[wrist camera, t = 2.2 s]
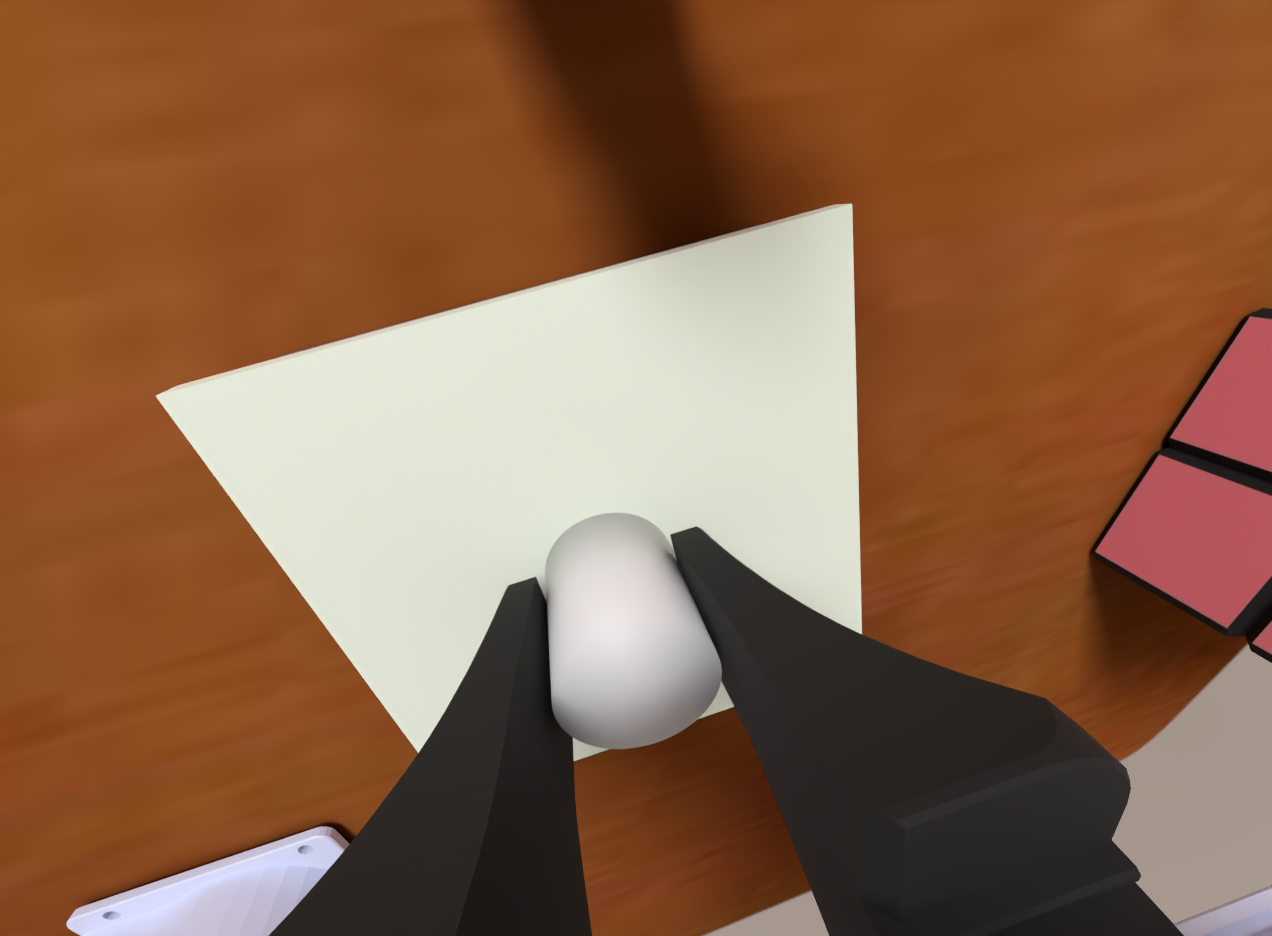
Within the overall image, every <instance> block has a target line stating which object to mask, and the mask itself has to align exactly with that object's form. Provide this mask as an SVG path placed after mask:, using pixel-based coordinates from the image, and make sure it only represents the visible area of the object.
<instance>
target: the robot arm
mask: <svg viewBox="0 0 1272 936" xmlns="http://www.w3.org/2000/svg"><path fill="white" fill-rule="evenodd" d="M670 536H671V540H672V544H673V549H674V553H675V557H676V561H677V563H678V565H679V568H680V570H681V572H682V574H683V577H684V579H685V581H686V584H687V586H688V588H689V590H690V593H691V595H692V597H693V599H694V601H695V604H696V606H697V608H698V610H699V613H700V615H701V617H702V619H703V622H704V624H705V626H706V629H707V631H708V633H709V635H710V638H711V640H712V642H713V645H714V647H715V649H716V651H717V654H718V656H719V659H720V662H721V668H722V679H721V681H722V683H723V685H724V687H725V689H726V691H727V693H728V695H729V697H730V699H731V701H732V703H733V705H734V707H735V709H736V711H737V713H738V715H739V717H740V719H741V721H742V723H743V724H744V726H745V728H746V730H747V732H748V734H749V737H750V739H751V741H752V743H753V745H754V747H755V750H756V752H757V754H758V756H759V759H760V761H761V764H762V766H763V769H764V771H765V773H766V776H767V778H768V781H769V783H770V786H771V788H772V791H773V793H774V796H775V798H776V801H777V803H778V806H779V808H780V811H781V813H782V816H783V818H784V821H785V823H786V826H787V828H788V831H789V833H790V836H791V838H792V841H793V844H794V846H795V849H796V851H797V854H798V856H799V859H800V861H801V864H802V866H803V869H804V872H805V874H806V877H807V879H808V882H809V884H810V887H811V890H812V892H813V895H814V897H815V900H816V902H817V905H818V908H819V910H820V913H821V915H822V918H823V920H824V923H825V925H826V928H827V931H828V933H829V936H1272V885H1271V886H1269V887H1266V888H1263V889H1261V890H1258V891H1256V892H1253V893H1251V894H1248V895H1246V896H1243V897H1240V898H1238V899H1235V900H1233V901H1230V902H1228V903H1225V904H1223V905H1220V906H1218V907H1215V908H1212V909H1210V910H1208V911H1205V912H1202V913H1200V914H1197V915H1195V916H1192V917H1190V918H1187V919H1184V920H1182V921H1179V922H1177V923H1174V924H1173V923H1172V922H1171V921H1170V920H1169V919H1168V918H1167V916H1166V915H1164V913H1163V912H1162V911H1161V910H1160V909H1159V908H1158V907H1157V906H1156V904H1155V903H1154V902H1153V901H1152V900H1151V899H1150V898H1149V897H1148V896H1147V895H1146V894H1145V892H1144V891H1143V890H1142V889H1141V888H1140V887H1139V886H1138V885H1137V884H1136V883H1135V882H1137V881H1139V879H1140V877H1141V875H1140V872H1139V871H1138V869H1137V867H1136V866H1135V865H1134V864H1133V863H1132V861H1131V860H1130V859H1129V858H1128V857H1127V856H1126V855H1125V854H1124V853H1123V852H1122V851H1121V850H1120V849H1119V848H1118V847H1117V846H1116V844H1114V842H1113V841H1112V837H1113V835H1114V833H1115V830H1116V828H1117V826H1118V823H1119V821H1120V819H1121V816H1122V814H1123V812H1124V810H1125V807H1126V805H1127V802H1128V798H1129V794H1130V789H1131V787H1130V779H1129V776H1128V773H1127V770H1126V768H1125V767H1124V766H1123V765H1122V764H1121V763H1120V762H1119V761H1118V760H1117V759H1116V758H1114V757H1113V756H1112V755H1111V754H1110V753H1109V752H1108V751H1107V750H1106V749H1105V748H1103V747H1102V746H1101V745H1100V744H1099V743H1098V742H1097V741H1096V740H1095V739H1094V738H1093V737H1092V736H1091V735H1089V734H1088V733H1087V732H1086V731H1085V730H1084V729H1083V728H1082V727H1080V726H1079V725H1078V724H1077V723H1076V722H1074V721H1073V720H1072V719H1071V718H1069V717H1068V716H1067V715H1066V714H1064V713H1063V712H1062V711H1060V710H1059V709H1058V708H1057V707H1055V706H1054V705H1053V704H1052V703H1051V702H1049V701H1048V700H1047V699H1046V698H1042V697H1039V696H1036V695H1032V694H1029V693H1025V692H1022V691H1019V690H1015V689H1012V688H1008V687H1005V686H1002V685H998V684H995V683H991V682H988V681H985V680H981V679H978V678H974V677H971V676H968V675H965V674H962V673H959V672H956V671H953V670H950V669H947V668H945V667H942V666H939V665H936V664H933V663H931V662H928V661H925V660H922V659H919V658H917V657H914V656H912V655H909V654H907V653H904V652H902V651H900V650H897V649H895V648H892V647H890V646H888V645H885V644H883V643H881V642H878V641H876V640H873V639H871V638H869V637H866V636H864V635H862V634H860V633H858V632H856V631H854V630H852V629H850V628H847V627H845V626H843V625H841V624H839V623H837V622H835V621H834V620H832V619H830V618H828V617H826V616H824V615H822V614H820V613H818V612H817V611H815V610H813V609H811V608H810V607H808V606H806V605H804V604H803V603H801V602H799V601H798V600H796V599H794V598H793V597H791V596H790V595H788V594H786V593H785V592H783V591H782V590H780V589H779V588H777V587H775V586H774V585H772V584H771V583H770V582H768V581H767V580H765V579H764V578H762V577H761V576H759V575H758V574H757V573H755V572H754V571H753V570H751V569H750V568H748V567H747V566H746V565H744V564H743V563H742V562H740V561H739V560H738V559H736V558H735V557H734V556H733V555H731V554H730V553H729V552H728V551H726V550H725V549H724V548H723V547H721V546H720V545H719V544H718V543H717V542H716V541H714V540H713V539H712V538H711V537H710V536H709V535H708V534H707V533H706V532H704V531H703V530H702V529H701V528H699V527H697V526H696V527H693V528H689V529H686V530H683V531H680V532H677V533H673V534H670ZM67 927H68V928H69V929H70V930H72V931H73V932H75V933H77V934H79V935H81V936H592V932H591V925H590V918H589V911H588V903H587V896H586V889H585V881H584V874H583V866H582V858H581V850H580V842H579V834H578V826H577V818H576V804H575V788H574V758H573V737H572V736H570V735H569V734H568V733H567V732H565V731H564V730H563V728H562V727H561V726H560V725H559V723H558V722H557V720H556V718H555V716H554V713H553V709H552V702H551V682H550V661H549V641H548V621H547V601H546V599H545V597H544V594H543V592H542V590H541V587H540V585H539V583H538V580H537V578H536V577H533V578H530V579H527V580H524V581H520V582H517V583H514V584H511V585H508V587H507V589H506V590H505V592H504V595H503V597H502V599H501V601H500V604H499V606H498V608H497V610H496V613H495V615H494V617H493V619H492V621H491V624H490V626H489V628H488V630H487V632H486V634H485V636H484V639H483V641H482V643H481V645H480V647H479V649H478V651H477V653H476V655H475V657H474V659H473V661H472V663H471V665H470V667H469V669H468V671H467V672H466V674H465V676H464V678H463V680H462V682H461V683H460V685H459V687H458V689H457V691H456V692H455V694H454V696H453V698H452V700H451V701H450V703H449V705H448V707H447V708H446V710H445V712H444V714H443V715H442V717H441V718H440V720H439V722H438V723H437V725H436V727H435V728H434V730H433V731H432V733H431V735H430V736H429V738H428V739H427V741H426V742H425V744H424V745H423V747H422V748H421V750H420V751H419V753H418V754H417V756H416V758H415V759H414V760H413V762H412V763H411V765H410V766H409V768H408V769H407V770H406V772H405V773H404V774H403V776H402V777H401V778H400V780H399V781H398V782H397V784H396V785H395V786H394V788H393V789H392V790H391V792H390V793H389V794H388V796H387V797H386V798H385V800H384V801H383V802H382V804H381V805H380V806H379V808H378V809H377V810H376V812H375V813H374V814H373V816H372V817H371V818H370V820H369V821H368V822H367V823H366V825H365V826H364V827H363V828H362V830H361V831H360V832H359V833H358V835H357V836H356V837H355V838H354V839H353V841H352V842H351V843H350V844H349V843H348V842H347V841H346V840H345V839H344V838H343V837H342V836H341V835H340V834H339V833H338V832H337V831H336V830H335V829H334V828H332V827H328V826H320V827H316V828H313V829H310V830H307V831H304V832H301V833H298V834H295V835H292V836H289V837H286V838H283V839H281V840H278V841H275V842H272V843H269V844H266V845H263V846H260V847H257V848H254V849H251V850H248V851H245V852H242V853H239V854H236V855H233V856H230V857H227V858H224V859H221V860H218V861H215V862H212V863H209V864H206V865H203V866H200V867H197V868H194V869H191V870H188V871H186V872H183V873H180V874H177V875H174V876H171V877H168V878H165V879H162V880H159V881H156V882H153V883H150V884H147V885H144V886H141V887H138V888H135V889H132V890H129V891H126V892H123V893H120V894H117V895H114V896H111V897H108V898H105V899H102V900H99V901H96V902H94V903H91V904H88V905H85V906H82V907H80V908H78V909H76V910H75V911H74V912H73V914H72V915H71V917H70V918H69V920H68V921H67Z"/></svg>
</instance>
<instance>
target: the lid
mask: <svg viewBox="0 0 1272 936" xmlns="http://www.w3.org/2000/svg"><path fill="white" fill-rule="evenodd" d="M156 397H157V399H158V400H159V401H160V403H161V404H162V405H163V407H164V408H165V409H166V411H167V412H168V414H169V415H170V416H171V418H172V419H173V420H174V422H175V423H176V424H177V426H178V427H179V428H180V430H181V431H182V433H183V434H184V435H185V437H186V438H187V439H188V441H189V442H190V443H191V445H192V446H193V447H194V449H195V450H196V452H197V453H198V454H199V456H200V457H201V458H202V460H203V461H204V462H205V464H206V465H207V467H208V468H209V469H210V471H211V472H212V473H213V475H214V476H215V477H216V479H217V480H218V481H219V483H220V484H221V486H222V487H223V488H224V490H225V491H226V492H227V494H228V495H229V496H230V498H231V499H232V500H233V502H234V503H235V505H236V506H237V507H238V509H239V510H240V511H241V513H242V514H243V515H244V517H245V518H246V519H247V521H248V522H249V524H250V525H251V526H252V528H253V529H254V530H255V532H256V533H257V534H258V536H259V537H260V538H261V540H262V541H263V543H264V544H265V545H266V547H267V548H268V549H269V551H270V552H271V553H272V555H273V556H274V558H275V559H276V560H277V562H278V563H279V564H280V566H281V567H282V568H283V570H284V571H285V572H286V574H287V575H288V577H289V578H290V579H291V581H292V582H293V583H294V585H295V586H296V587H297V589H298V590H299V591H300V593H301V594H302V596H303V597H304V598H305V600H306V601H307V602H308V604H309V605H310V606H311V608H312V609H313V610H314V612H315V613H316V615H317V616H318V617H319V619H320V620H321V621H322V623H323V624H324V625H325V627H326V628H327V629H328V631H329V632H330V634H331V635H332V636H333V638H334V639H335V640H336V642H337V643H338V644H339V646H340V647H341V649H342V650H343V651H344V653H345V654H346V655H347V657H348V658H349V659H350V661H351V662H352V663H353V665H354V666H355V668H356V669H357V670H358V672H359V673H360V674H361V676H362V677H363V678H364V680H365V681H366V682H367V684H368V685H369V687H370V688H371V689H372V691H373V692H374V693H375V695H376V696H377V697H378V699H379V700H380V701H381V703H382V704H383V706H384V707H385V708H386V710H387V711H388V712H389V714H390V715H391V716H392V718H393V719H394V720H395V722H396V723H397V725H398V726H399V727H400V729H401V730H402V731H403V733H404V734H405V735H406V737H407V738H408V740H409V741H410V742H411V744H412V745H413V746H414V748H415V749H416V750H417V752H418V753H419V751H420V750H421V748H422V747H423V745H424V744H425V742H426V741H427V739H428V738H429V736H430V735H431V733H432V731H433V730H434V728H435V727H436V725H437V723H438V722H439V720H440V718H441V717H442V715H443V714H444V712H445V710H446V708H447V707H448V705H449V703H450V701H451V700H452V698H453V696H454V694H455V692H456V691H457V689H458V687H459V685H460V683H461V682H462V680H463V678H464V676H465V674H466V672H467V671H468V669H469V667H470V665H471V663H472V661H473V659H474V657H475V655H476V653H477V651H478V649H479V647H480V645H481V643H482V641H483V639H484V636H485V634H486V632H487V630H488V628H489V626H490V624H491V621H492V619H493V617H494V615H495V613H496V610H497V608H498V606H499V604H500V601H501V599H502V597H503V595H504V592H505V590H506V589H507V587H508V585H511V584H514V583H517V582H520V581H524V580H527V579H530V578H533V577H536V578H537V580H538V583H539V585H540V587H541V590H542V592H543V594H544V597H545V599H546V601H547V621H548V641H549V661H550V682H551V702H552V709H553V713H554V716H555V718H556V720H557V722H558V723H559V725H560V726H561V727H562V728H563V730H564V731H565V732H567V733H568V734H569V735H570V736H572V737H573V758H574V761H576V760H579V759H582V758H585V757H588V756H591V755H594V754H597V753H599V752H602V751H605V750H608V749H629V748H637V747H642V746H646V745H650V744H653V743H657V742H659V741H662V740H665V739H667V738H669V737H671V736H673V735H675V734H677V733H679V732H681V731H682V730H684V729H686V728H687V727H688V726H690V725H691V724H692V723H694V722H695V721H696V720H697V719H700V718H703V717H706V716H708V715H711V714H714V713H717V712H720V711H723V710H726V709H729V708H732V707H734V705H733V703H732V701H731V699H730V697H729V695H728V693H727V691H726V689H725V687H724V685H723V683H722V681H721V679H722V668H721V662H720V659H719V656H718V654H717V651H716V649H715V647H714V645H713V642H712V640H711V638H710V635H709V633H708V631H707V629H706V626H705V624H704V622H703V619H702V617H701V615H700V613H699V610H698V608H697V606H696V604H695V601H694V599H693V597H692V595H691V593H690V590H689V588H688V586H687V584H686V581H685V579H684V577H683V574H682V572H681V570H680V568H679V565H678V563H677V561H676V557H675V553H674V549H673V544H672V540H671V536H670V534H673V533H677V532H680V531H683V530H686V529H689V528H693V527H696V526H697V527H699V528H701V529H702V530H703V531H704V532H706V533H707V534H708V535H709V536H710V537H711V538H712V539H713V540H714V541H716V542H717V543H718V544H719V545H720V546H721V547H723V548H724V549H725V550H726V551H728V552H729V553H730V554H731V555H733V556H734V557H735V558H736V559H738V560H739V561H740V562H742V563H743V564H744V565H746V566H747V567H748V568H750V569H751V570H753V571H754V572H755V573H757V574H758V575H759V576H761V577H762V578H764V579H765V580H767V581H768V582H770V583H771V584H772V585H774V586H775V587H777V588H779V589H780V590H782V591H783V592H785V593H786V594H788V595H790V596H791V597H793V598H794V599H796V600H798V601H799V602H801V603H803V604H804V605H806V606H808V607H810V608H811V609H813V610H815V611H817V612H818V613H820V614H822V615H824V616H826V617H828V618H830V619H832V620H834V621H835V622H837V623H839V624H841V625H843V626H845V627H847V628H850V629H852V630H854V631H856V632H858V633H860V634H862V617H861V572H860V528H859V484H858V440H857V396H856V351H855V307H854V263H853V219H852V204H836V205H831V206H828V207H824V208H820V209H817V210H813V211H809V212H806V213H802V214H799V215H795V216H791V217H788V218H784V219H780V220H777V221H773V222H769V223H766V224H762V225H759V226H755V227H751V228H748V229H744V230H740V231H737V232H733V233H730V234H726V235H722V236H719V237H715V238H711V239H708V240H704V241H701V242H697V243H693V244H690V245H686V246H682V247H679V248H675V249H671V250H668V251H664V252H661V253H657V254H653V255H650V256H646V257H642V258H639V259H635V260H632V261H628V262H624V263H621V264H617V265H613V266H610V267H606V268H603V269H599V270H595V271H592V272H588V273H584V274H581V275H577V276H573V277H570V278H566V279H563V280H559V281H555V282H552V283H548V284H544V285H541V286H537V287H534V288H530V289H526V290H523V291H519V292H515V293H512V294H508V295H505V296H501V297H497V298H494V299H490V300H486V301H483V302H479V303H475V304H472V305H468V306H465V307H461V308H457V309H454V310H450V311H446V312H443V313H439V314H436V315H432V316H428V317H425V318H421V319H417V320H414V321H410V322H407V323H403V324H399V325H396V326H392V327H388V328H385V329H381V330H377V331H374V332H370V333H367V334H363V335H359V336H356V337H352V338H348V339H345V340H341V341H338V342H334V343H330V344H327V345H323V346H319V347H316V348H312V349H309V350H305V351H301V352H298V353H294V354H290V355H287V356H283V357H279V358H276V359H272V360H269V361H265V362H261V363H258V364H254V365H250V366H247V367H243V368H240V369H236V370H232V371H229V372H225V373H221V374H218V375H214V376H210V377H207V378H203V379H200V380H196V381H192V382H189V383H185V384H181V385H178V386H176V387H173V388H171V389H169V390H167V391H165V392H163V393H161V394H158V395H156Z"/></svg>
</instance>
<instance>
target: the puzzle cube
mask: <svg viewBox="0 0 1272 936" xmlns="http://www.w3.org/2000/svg"><path fill="white" fill-rule="evenodd" d="M1167 439H1168V442H1169V444H1170V447H1169V448H1166V449H1162V450H1159V451H1157V452H1156V453H1155V455H1154V456H1153V458H1152V459H1151V461H1150V462H1149V464H1148V465H1147V467H1146V468H1145V470H1144V471H1143V473H1142V474H1141V476H1140V477H1139V479H1138V481H1137V482H1136V484H1135V485H1134V487H1133V488H1132V490H1131V491H1130V493H1129V494H1128V496H1127V497H1126V499H1125V500H1124V502H1123V503H1122V505H1121V506H1120V508H1119V509H1118V511H1117V512H1116V514H1115V516H1114V517H1113V519H1112V520H1111V522H1110V523H1109V525H1108V526H1107V528H1106V529H1105V531H1104V532H1103V534H1102V535H1101V537H1100V538H1099V540H1098V541H1097V543H1096V544H1095V546H1094V547H1093V551H1094V554H1095V557H1096V559H1098V560H1099V561H1101V562H1103V563H1104V564H1106V565H1108V566H1109V567H1111V568H1113V569H1114V570H1116V571H1118V572H1119V573H1121V574H1123V575H1124V576H1126V577H1128V578H1130V579H1131V580H1133V581H1135V582H1136V583H1138V584H1140V585H1141V586H1143V587H1145V588H1146V589H1148V590H1150V591H1151V592H1153V593H1155V594H1157V595H1158V596H1160V597H1162V598H1163V599H1165V600H1167V601H1168V602H1170V603H1172V604H1173V605H1175V606H1177V607H1178V608H1180V609H1182V610H1183V611H1185V612H1187V613H1189V614H1190V615H1192V616H1194V617H1195V618H1197V619H1199V620H1200V621H1202V622H1204V623H1205V624H1207V625H1209V626H1210V627H1212V628H1214V629H1216V630H1217V631H1219V632H1221V633H1222V634H1224V635H1226V636H1246V639H1247V642H1248V644H1249V647H1250V649H1251V651H1252V652H1254V653H1256V654H1258V655H1259V656H1261V657H1263V658H1264V659H1266V660H1268V661H1269V662H1271V663H1272V309H1267V308H1262V309H1260V310H1258V311H1255V312H1253V313H1251V314H1249V315H1247V316H1245V318H1244V319H1243V321H1242V322H1241V324H1240V325H1239V327H1238V328H1237V330H1236V331H1235V333H1234V334H1233V336H1232V337H1231V339H1230V341H1229V342H1228V344H1227V345H1226V347H1225V348H1224V350H1223V351H1222V353H1221V354H1220V356H1219V357H1218V359H1217V360H1216V362H1215V363H1214V365H1213V366H1212V368H1211V369H1210V371H1209V372H1208V374H1207V376H1206V377H1205V379H1204V380H1203V382H1202V383H1201V385H1200V386H1199V388H1198V389H1197V391H1196V392H1195V394H1194V395H1193V397H1192V398H1191V400H1190V401H1189V403H1188V404H1187V406H1186V407H1185V409H1184V411H1183V412H1182V414H1181V415H1180V417H1179V418H1178V420H1177V421H1176V423H1175V424H1174V426H1173V427H1172V429H1171V430H1170V432H1169V433H1168V435H1167Z"/></svg>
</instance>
